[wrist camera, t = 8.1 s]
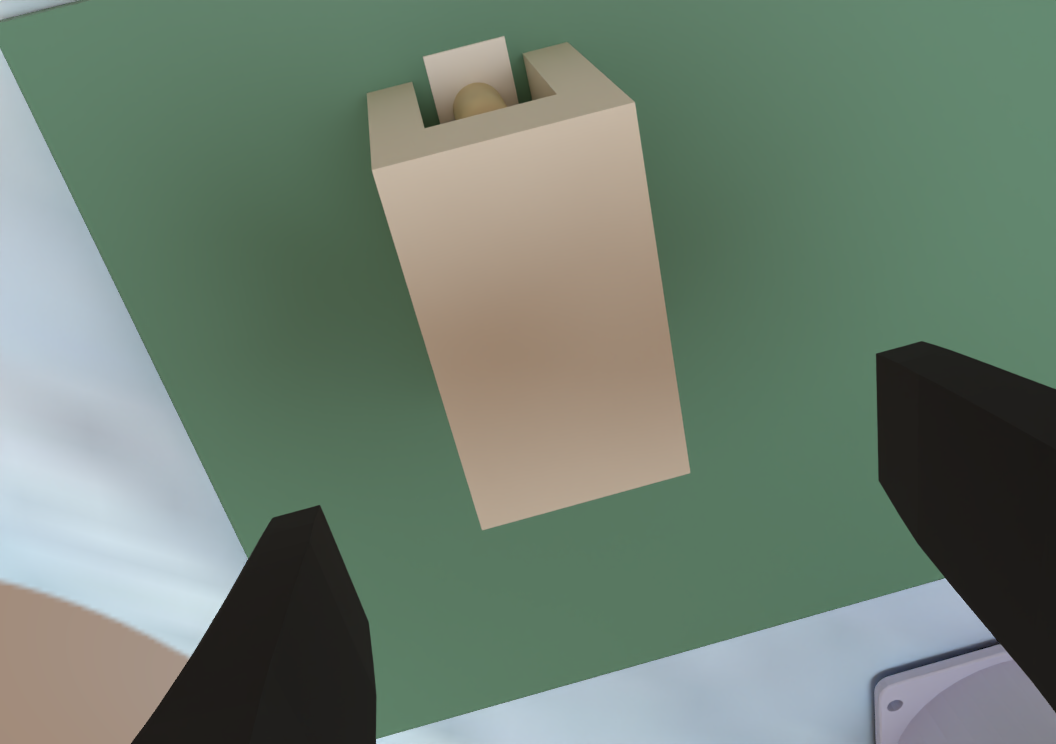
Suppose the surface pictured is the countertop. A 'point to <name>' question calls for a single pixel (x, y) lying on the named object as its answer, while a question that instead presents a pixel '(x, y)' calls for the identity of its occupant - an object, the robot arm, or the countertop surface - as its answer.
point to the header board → (686, 271)
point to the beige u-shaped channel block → (536, 287)
